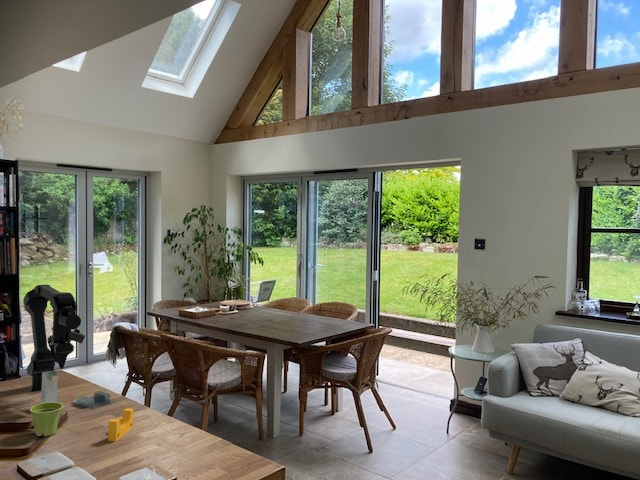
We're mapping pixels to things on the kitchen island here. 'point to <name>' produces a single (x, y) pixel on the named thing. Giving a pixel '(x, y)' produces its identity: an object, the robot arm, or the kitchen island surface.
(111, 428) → the pipe clamp
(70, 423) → the kitchen island surface
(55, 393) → the grey upright block
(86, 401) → the vise
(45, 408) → the plant pot
